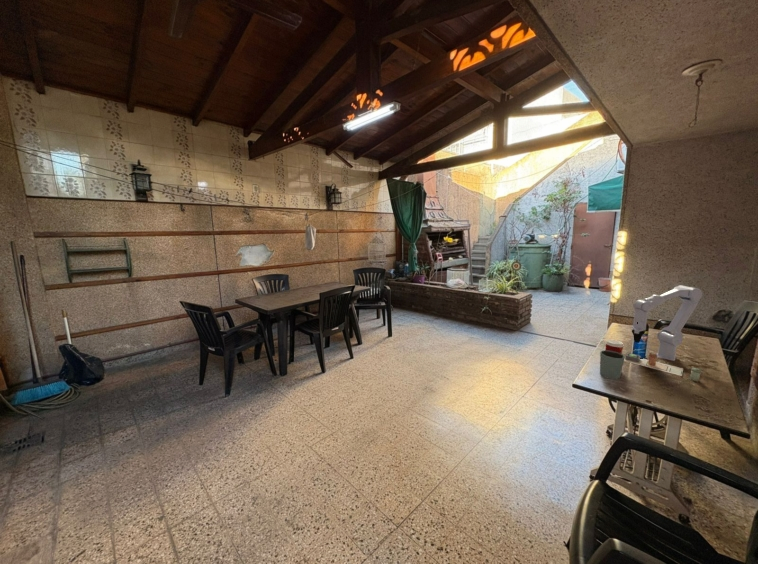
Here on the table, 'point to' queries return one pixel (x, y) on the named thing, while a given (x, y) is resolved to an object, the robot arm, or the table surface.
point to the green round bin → (611, 364)
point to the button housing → (633, 358)
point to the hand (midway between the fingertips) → (636, 342)
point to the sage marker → (695, 374)
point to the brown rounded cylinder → (652, 359)
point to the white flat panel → (659, 366)
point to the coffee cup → (614, 346)
